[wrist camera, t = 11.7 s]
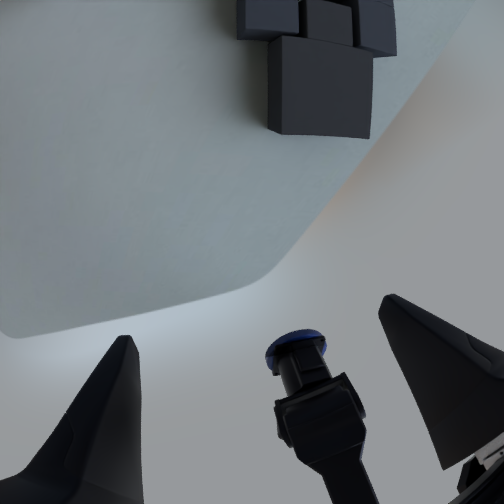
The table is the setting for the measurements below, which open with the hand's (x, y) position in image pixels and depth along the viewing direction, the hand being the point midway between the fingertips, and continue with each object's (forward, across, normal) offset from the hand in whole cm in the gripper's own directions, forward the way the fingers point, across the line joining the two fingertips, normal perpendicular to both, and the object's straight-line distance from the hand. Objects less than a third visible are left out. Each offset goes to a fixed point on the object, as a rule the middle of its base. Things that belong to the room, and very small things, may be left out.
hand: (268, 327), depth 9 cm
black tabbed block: (+12, -6, -9) cm, 16 cm away
